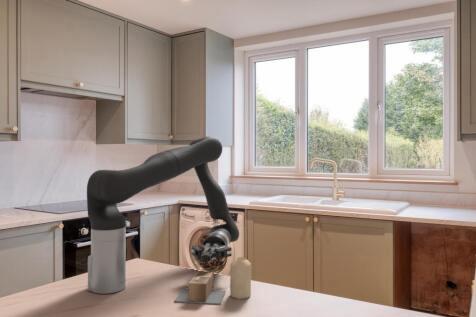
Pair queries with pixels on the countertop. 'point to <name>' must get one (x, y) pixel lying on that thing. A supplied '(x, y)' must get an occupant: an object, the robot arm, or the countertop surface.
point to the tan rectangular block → (201, 286)
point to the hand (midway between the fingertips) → (205, 259)
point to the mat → (213, 298)
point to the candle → (240, 278)
